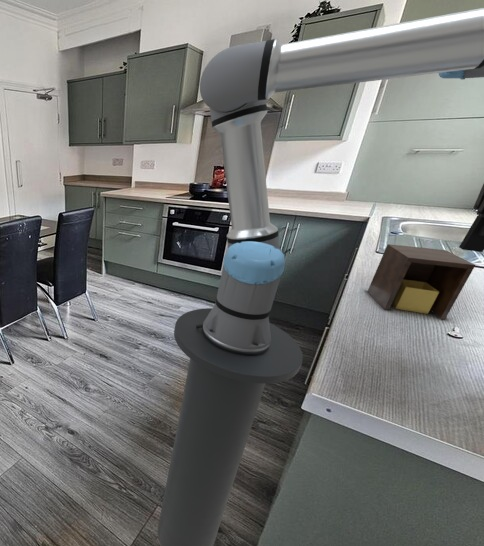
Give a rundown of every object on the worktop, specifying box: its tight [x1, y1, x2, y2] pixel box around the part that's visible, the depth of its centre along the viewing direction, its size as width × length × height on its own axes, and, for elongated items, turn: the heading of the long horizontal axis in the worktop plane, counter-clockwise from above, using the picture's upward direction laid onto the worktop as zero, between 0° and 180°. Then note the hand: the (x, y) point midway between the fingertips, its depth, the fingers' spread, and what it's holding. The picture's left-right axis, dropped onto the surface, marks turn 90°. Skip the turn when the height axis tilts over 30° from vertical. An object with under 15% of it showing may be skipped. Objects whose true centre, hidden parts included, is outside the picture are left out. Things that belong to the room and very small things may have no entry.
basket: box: [391, 279, 439, 315], centre depth 91 cm, size 7×7×7 cm
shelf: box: [367, 243, 476, 320], centre depth 90 cm, size 13×13×16 cm
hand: (470, 249), depth 61 cm, fingers closed
